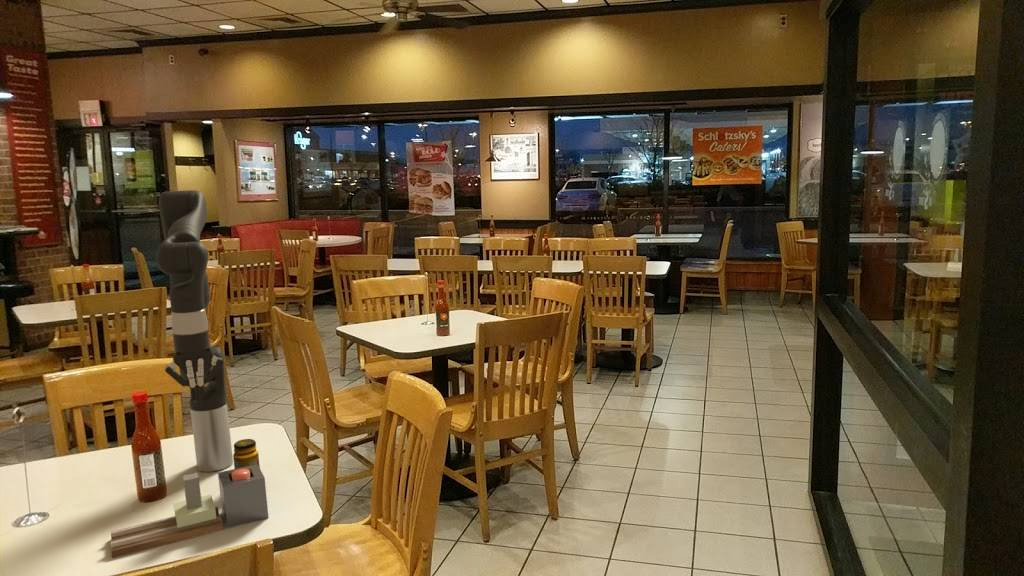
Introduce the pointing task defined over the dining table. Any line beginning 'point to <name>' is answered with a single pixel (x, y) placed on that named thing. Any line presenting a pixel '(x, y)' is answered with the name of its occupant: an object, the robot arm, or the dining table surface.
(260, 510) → the cabinet
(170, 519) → the rail track
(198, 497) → the carriage
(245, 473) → the plunger
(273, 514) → the dining table surface
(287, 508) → the dining table surface
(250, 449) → the condiment
